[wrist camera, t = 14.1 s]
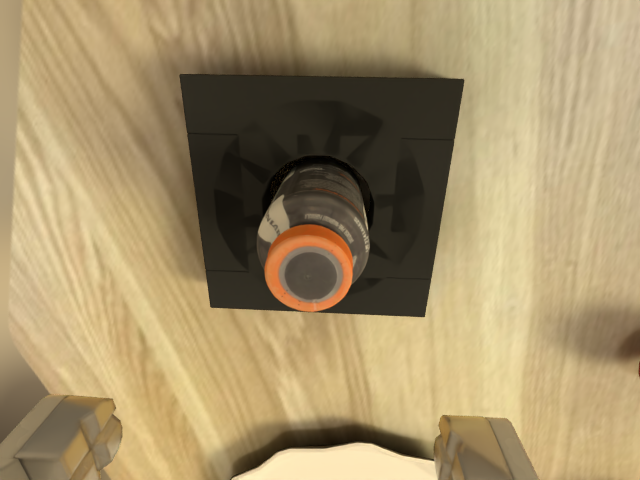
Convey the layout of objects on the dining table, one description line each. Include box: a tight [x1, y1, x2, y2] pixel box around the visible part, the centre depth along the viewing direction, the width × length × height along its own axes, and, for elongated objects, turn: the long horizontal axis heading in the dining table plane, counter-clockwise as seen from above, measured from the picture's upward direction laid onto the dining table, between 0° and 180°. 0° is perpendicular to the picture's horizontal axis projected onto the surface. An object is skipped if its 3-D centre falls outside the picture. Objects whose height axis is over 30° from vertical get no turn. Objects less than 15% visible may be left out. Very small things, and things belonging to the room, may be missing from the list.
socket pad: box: [180, 74, 464, 317], centre depth 25 cm, size 16×16×3 cm
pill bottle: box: [257, 158, 370, 312], centre depth 21 cm, size 6×6×11 cm
